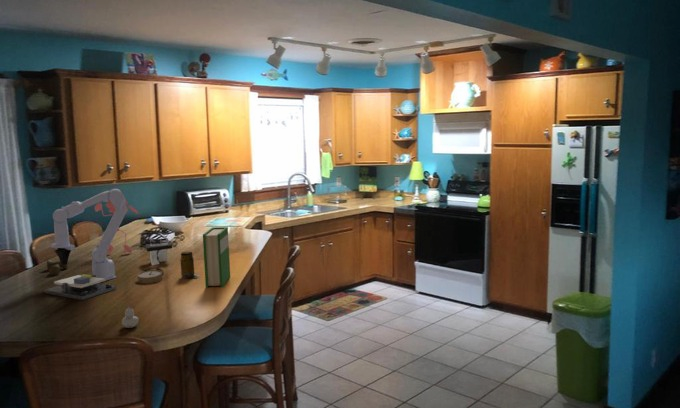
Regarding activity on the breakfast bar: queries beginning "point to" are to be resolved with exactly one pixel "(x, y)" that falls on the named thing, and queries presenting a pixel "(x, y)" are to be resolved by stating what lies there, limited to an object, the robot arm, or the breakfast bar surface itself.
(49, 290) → the base
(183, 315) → the breakfast bar surface
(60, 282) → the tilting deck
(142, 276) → the alarm clock
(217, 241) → the hardback book
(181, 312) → the breakfast bar surface
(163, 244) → the black-topped pedestal
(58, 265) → the kendama
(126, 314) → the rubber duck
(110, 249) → the figurine
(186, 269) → the condiment
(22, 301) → the breakfast bar surface
